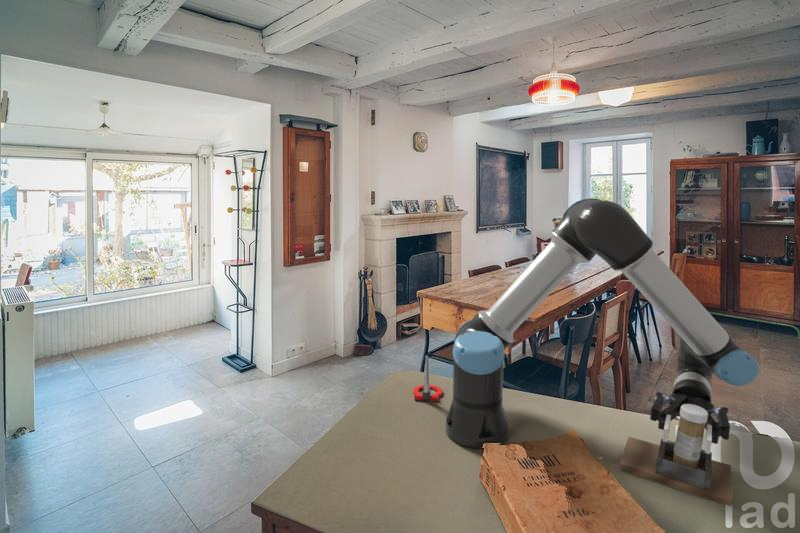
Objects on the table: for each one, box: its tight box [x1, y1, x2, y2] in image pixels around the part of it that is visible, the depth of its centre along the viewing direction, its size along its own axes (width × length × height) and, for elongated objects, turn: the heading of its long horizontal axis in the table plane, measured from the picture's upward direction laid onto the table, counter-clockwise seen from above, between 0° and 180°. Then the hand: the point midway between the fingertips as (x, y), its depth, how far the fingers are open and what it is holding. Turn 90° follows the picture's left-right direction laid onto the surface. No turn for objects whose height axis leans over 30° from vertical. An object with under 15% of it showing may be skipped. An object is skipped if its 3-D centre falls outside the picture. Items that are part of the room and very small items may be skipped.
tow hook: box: [412, 355, 443, 402], centre depth 126 cm, size 8×13×9 cm
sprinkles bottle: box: [672, 404, 708, 469], centre depth 89 cm, size 5×5×13 cm
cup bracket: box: [618, 436, 733, 507], centre depth 92 cm, size 19×12×4 cm, turn 55°
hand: (686, 440), depth 85 cm, fingers open, 6 cm apart
